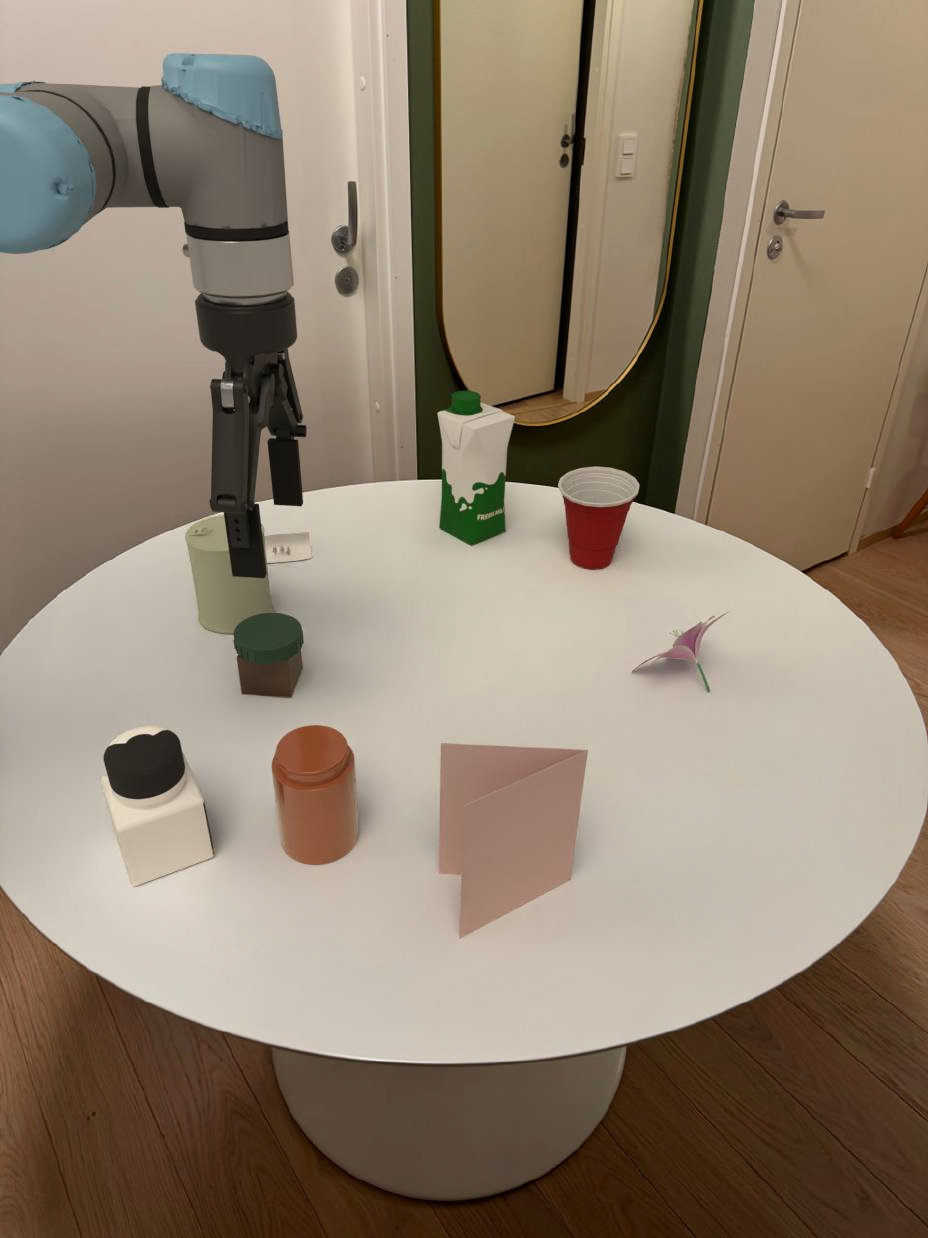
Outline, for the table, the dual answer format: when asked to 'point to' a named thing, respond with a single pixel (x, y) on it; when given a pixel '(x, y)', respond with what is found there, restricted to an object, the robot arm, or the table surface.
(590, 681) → the table surface
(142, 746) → the medicine bottle
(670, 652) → the lily
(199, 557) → the can
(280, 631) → the lid
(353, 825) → the jar
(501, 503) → the milk carton
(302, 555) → the white curved plate
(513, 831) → the greeting card
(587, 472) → the plastic cup
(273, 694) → the riser
